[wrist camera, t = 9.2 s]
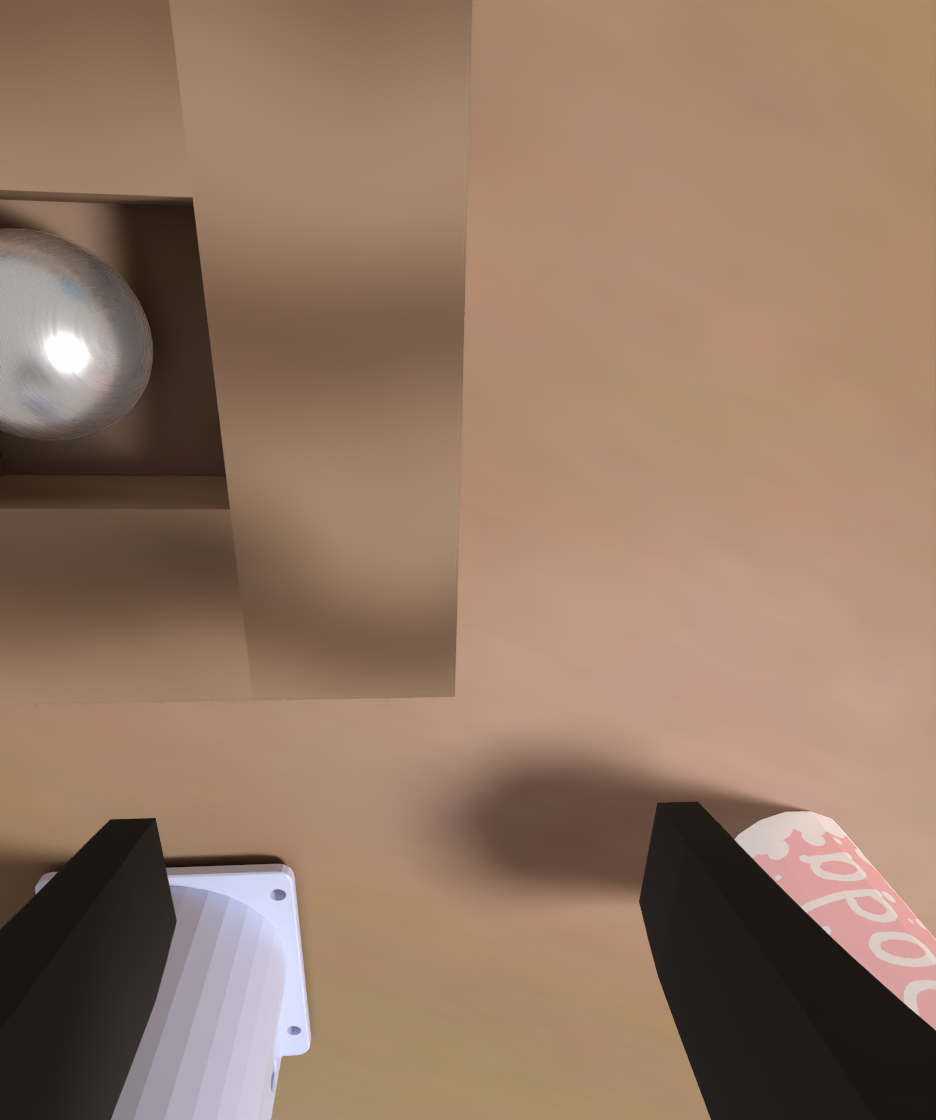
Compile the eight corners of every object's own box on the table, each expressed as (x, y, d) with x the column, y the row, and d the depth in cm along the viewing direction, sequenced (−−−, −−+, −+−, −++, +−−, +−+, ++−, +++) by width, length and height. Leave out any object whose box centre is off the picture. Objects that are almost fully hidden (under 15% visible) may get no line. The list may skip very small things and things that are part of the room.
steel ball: (132, 485, 13) (-2, 475, 15) (221, 347, 15) (94, 350, 17) (-42, 321, 10) (-192, 329, 12) (98, 171, 12) (-47, 194, 14)
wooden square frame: (450, 645, 19) (454, 696, 17) (-144, 652, 18) (-226, 708, 16) (464, -77, 13) (475, -150, 11) (-456, -142, 12) (-669, -241, 9)
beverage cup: (899, 806, 23) (1494, 1473, 10) (821, 928, 25) (1231, 1598, 13) (738, 781, 22) (1177, 1484, 9) (673, 911, 24) (953, 1616, 12)
